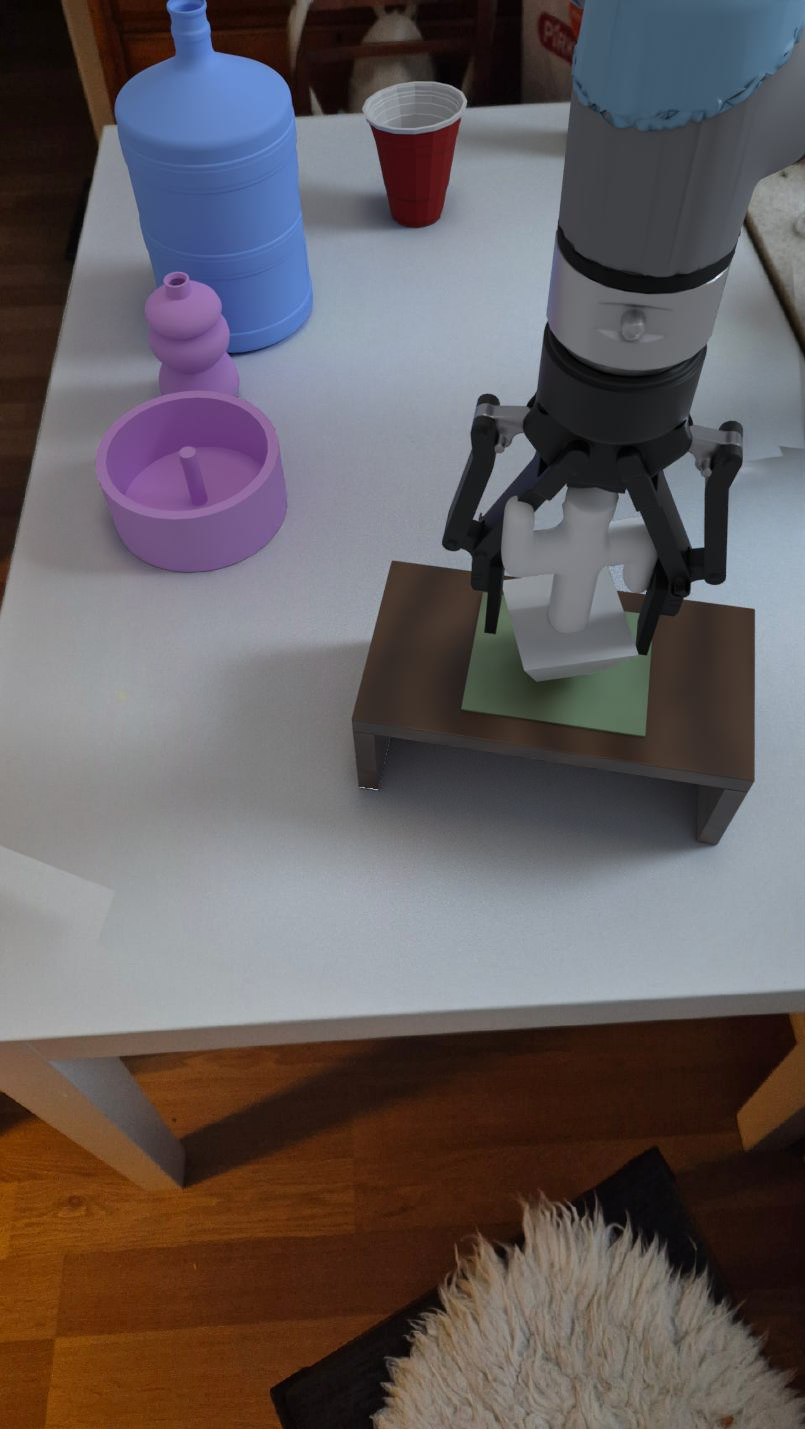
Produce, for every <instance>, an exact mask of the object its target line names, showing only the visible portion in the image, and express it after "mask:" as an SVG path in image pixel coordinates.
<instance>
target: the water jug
mask: <svg viewBox="0 0 805 1429" xmlns="http://www.w3.org/2000/svg"><path fill="white" fill-rule="evenodd" d="M207 7H208V6H207V1H206V0H168V1H167V2H166V10H167V12H168V14H169V15H170V21H171V25H170V32H171V36H172V38H173V42H174V47H175V55H174V56H172V57H169V58H168V59H165V60H163V61H160V62H158V63H156V64H154V65H151V66H149V67H147V68H145V69H143V70H141V71H140V72H138V73H137V74H135V75H134V76H133V77H131V78H130V79H129V80H128V81H127V82H126V83H125V84H124V85H123V86H122V88H121V89H120V91H119V92H118V94H117V97H116V99H115V103H114V117H115V121H116V127H117V128H116V130H117V136H118V142H119V145H120V149H121V153H122V157H123V159H124V162H125V164H126V167H127V171H128V175H129V179H130V183H131V187H132V191H133V195H134V196H133V197H134V199H135V204H136V207H137V212H138V220H139V227H140V231H141V234H142V238H143V242H144V245H145V248H146V250H147V252H148V255H149V261H150V266H151V270H152V273H153V278H154V281H155V285H156V289H158V288H159V287H161V286H162V285H164V281H163V280H164V278H165V276H166V275H168V274H170V273H172V272H183V273H186V274H187V275H188V276H189V280H192V281H196V282H200V283H203V284H205V285H207V286H209V287H211V288H212V289H213V290H214V291H215V293H216V294H217V296H218V297H219V299H220V300H221V304H222V310H221V314H222V316H223V317H224V318H225V320H226V322H227V325H228V328H229V331H230V338H229V345H228V348H227V350H226V353H227V354H229V353H231V354H233V353H235V354H236V353H245V352H253V351H257V350H261V349H264V348H267V347H270V346H273V345H275V344H278V343H279V342H281V341H283V340H285V339H286V338H288V337H289V336H291V335H292V334H293V333H295V332H296V331H297V330H298V329H299V328H301V326H302V325H303V323H304V322H306V320H307V318H308V317H309V314H310V312H311V310H312V306H313V302H314V301H313V300H314V292H313V283H312V282H313V280H312V276H311V273H310V267H309V266H310V265H309V256H308V247H307V239H306V235H305V230H304V221H303V212H302V206H301V197H300V196H301V195H300V186H299V184H300V183H299V160H298V158H299V157H298V149H297V148H298V147H297V143H298V131H297V125H296V124H297V123H296V122H297V121H296V115H295V110H294V106H293V101H292V100H293V99H292V94H291V89H290V88H289V85H288V83H287V82H286V81H285V79H284V77H283V76H282V75H281V74H279V72H277V71H276V70H275V69H273V68H272V67H270V66H269V65H267V64H265V63H264V62H263V63H262V62H260V61H258V60H255V59H252V58H249V57H244V56H239V55H234V54H229V53H223V52H219V51H215V50H214V48H213V45H212V38H211V32H212V31H211V24H210V22H209V21H208V18H207V13H206V10H207Z"/></svg>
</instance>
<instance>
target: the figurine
mask: <svg viewBox="0 0 805 1429" xmlns="http://www.w3.org/2000/svg"><path fill="white" fill-rule="evenodd" d="M619 499H620V493H613V492H609V491H606V490H602V489H599V488H573V487H566V493H565V498H564V501H563V502H562V503H561V508H562V516H563V517H562V520H561V521H560V522H559V523H558V524H557V525H555V526H553V527H550V528H546V529H545V528H543V529H537V530H534V528H535V520H536V519H535V518H536V516H535V515H536V514H535V513H534V509H533V507H532V506H531V505H530V504H528V503H525V502H519V501H517V500H518V498H517V496H513V497H511V498H510V499H509V500H508V501H507V503H506V506H505V511H504V521H503V532H502V543H501V556H502V562H503V565H504V568H505V572H506V573H507V574H508V576H513V577H518V579H510V580H504V582H503V592H504V596H505V600H506V604H507V608H508V611H509V615H510V619H511V623H512V626H513V630H514V634H515V638H516V642H517V645H518V649H519V653H520V657H521V661H522V664H523V668H524V671H525V672H526V673H527V674H529V675H530V676H531V677H532V678H533V679H534V680H535V681H536V682H537V681H545V680H552V679H559V678H566V677H574V676H581V675H588V674H595V673H602V672H604V671H606V670H608V669H610V668H612V667H614V666H616V665H618V664H621V663H623V662H625V661H627V660H629V659H631V658H633V657H635V656H637V655H639V654H638V652H637V649H636V646H635V643H634V640H633V637H632V634H631V631H630V628H629V625H628V622H627V619H626V616H625V613H624V611H623V608H622V605H621V602H620V599H619V596H618V593H617V588H616V584H615V582H614V579H613V576H612V573H611V570H610V567H614V566H622V580H623V583H624V586H626V588H627V589H628V590H629V592H633V593H640V594H643V593H644V592H646V591H647V589H648V587H649V585H650V583H651V579H652V576H653V572H654V569H655V566H656V562H657V559H658V554H657V552H656V549H655V547H654V544H653V542H652V540H651V537H650V535H649V532H648V530H647V528H646V525H645V523H644V521H643V518H642V516H638V517H637V516H636V517H630V518H629V517H628V518H622V519H621V518H620V519H614V517H615V513H616V510H617V505H618V503H619ZM613 519H614V520H613Z"/></svg>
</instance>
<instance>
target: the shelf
mask: <svg viewBox="0 0 805 1429" xmlns="http://www.w3.org/2000/svg"><path fill="white" fill-rule="evenodd" d="M510 579H518V577H513V576H511V575H507V574H506V575H505V574H504V580H510ZM470 583H471V570H468V569H461V568H460V569H459V568H453V567H445V566H438V565H430V564H423V563H416V562H409V561H408V562H407V561H400V560H394V559H393V560H391V562H390V565H389V570H388V573H387V578H386V581H385V585H384V590H383V593H382V597H381V601H380V605H379V609H378V613H377V617H376V620H375V625H374V629H373V632H372V636H371V640H370V645H369V648H368V653H367V656H366V661H365V664H364V668H363V672H362V676H361V679H360V683H359V687H358V692H357V696H356V698H355V699H356V700H355V704H354V707H353V712H352V716H351V729H352V737H353V750H354V755H355V765H356V775H357V786H358V788H359V787H365V788H373V789H379V790H380V786H379V784H380V785H381V782H380V780H381V781H382V778H381V776H383V773H382V771H383V772H384V769H383V767H384V768H385V764H384V762H385V763H386V760H385V758H386V759H387V756H386V753H387V754H388V751H387V749H388V750H389V747H388V745H389V746H390V742H391V738H395V739H402V740H408V741H414V742H415V741H416V742H421V743H428V744H435V745H441V746H448V747H453V748H461V749H465V750H466V749H467V750H474V751H480V752H487V753H492V754H493V753H494V754H499V755H505V756H513V757H519V758H525V759H530V760H531V759H532V760H538V761H546V762H551V763H557V764H565V765H570V766H577V767H585V768H589V769H590V768H591V769H595V770H596V769H597V770H604V771H610V772H616V773H623V774H629V775H635V776H643V777H649V778H656V779H662V780H669V781H675V782H680V783H689V784H695V785H698V786H697V788H698V789H697V808H696V809H697V812H696V838H695V839H696V840H695V841H696V842H697V843H702V844H707V845H708V844H709V845H715V846H718V845H719V843H720V841H721V840H722V838H723V836H724V834H725V833H726V831H727V829H728V827H729V826H730V824H731V823H732V821H733V819H734V818H735V816H736V814H737V812H738V810H739V809H740V808H741V805H742V804H743V802H744V800H745V799H746V797H747V795H748V793H749V791H750V790H751V788H752V787H753V785H754V783H755V781H756V609H755V608H751V607H744V606H736V605H729V604H722V603H713V602H706V601H699V600H691V599H685V598H684V599H683V601H682V605H681V608H680V610H679V612H678V613H677V614H676V615H675V616H674V617H673V616H666V615H660V617H659V620H658V623H657V626H656V629H655V632H654V635H653V638H652V641H651V644H650V648H649V651H648V654H647V656H646V655H637V656H635V657H633V658H631V659H629V660H627V661H625V662H623V663H621V664H618V665H616V666H614V667H612V668H610V669H608V670H606V671H604V672H602V673H595V674H588V675H581V676H574V677H566V678H559V679H552V680H545V681H537V682H536V681H535V680H534V679H533V678H532V677H531V676H530V675H529V674H527V673H526V672H525V671H524V668H523V664H522V661H521V657H520V653H519V649H518V645H517V642H516V638H515V634H514V630H513V626H512V623H511V619H510V615H509V611H508V608H507V604H506V600H505V596H504V592H503V591H502V600H501V607H500V613H499V618H498V624H497V630H496V634H489V633H484V629H485V618H486V607H487V596H488V592H485V591H478V590H473V588H472V586H471V584H470ZM616 590H617V589H616ZM617 593H618V596H619V599H620V602H621V605H622V608H623V611H624V613H625V616H626V619H627V622H628V625H629V628H630V631H631V634H632V637H633V640H634V643H635V646H636V635H637V622H638V618H639V614H640V611H641V608H642V604H643V601H644V597H645V594H646V593H634V592H632V591H625V590H617ZM390 737H391V738H390ZM389 741H390V742H389Z"/></svg>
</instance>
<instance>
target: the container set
mask: <svg viewBox="0 0 805 1429" xmlns="http://www.w3.org/2000/svg"><path fill="white" fill-rule="evenodd" d="M163 281H164V285H162V286H161V287H159V288H158V289H157V288H156V289H155V290H153V291H152V293H151V294H149V296H148V297H147V299H146V301H145V305H144V313H143V316H144V319H145V321H146V323H147V324H148V326H149V327H148V331H147V340H148V346H149V348H150V350H151V352H152V353H153V355H154V357H155V358H156V359H157V360H158V361H159V362H160V363H161V365H160V368H159V373H158V387H159V390H160V394H161V395H160V396H158V397H155V398H151V399H149V400H146V401H144V402H142V403H141V404H138V405H136V406H134V407H132V408H131V409H130V410H128V411H127V412H125V413H124V414H122V415H121V416H120V417H119V418H118V419H116V420H115V422H113V424H111V426H109V427H108V429H107V430H106V432H105V434H103V436H102V438H100V442H99V445H98V447H97V448H96V452H95V459H94V460H95V461H94V462H95V463H94V467H95V472H96V473H95V474H96V478H97V481H98V483H99V486H100V488H101V491H102V492H101V493H102V495H103V497H104V499H105V502H106V505H107V508H108V510H109V513H110V516H111V518H112V521H113V524H114V527H115V530H116V532H117V533H118V537H119V538H120V541H121V542H122V544H123V545H124V546H125V547H126V548H127V549H128V551H129V552H130V553H132V554H133V555H135V556H136V557H137V558H139V559H140V560H141V561H143V562H145V563H147V564H149V565H152V566H154V567H156V568H158V569H159V568H160V569H162V570H163V569H165V570H167V571H171V572H182V573H199V572H200V573H201V572H211V571H214V570H218V569H224V568H226V567H229V566H232V565H235V564H237V563H240V562H242V561H245V559H248V558H249V557H251V556H252V555H255V554H256V553H258V552H259V551H260V550H261V549H263V547H265V546H266V545H267V544H268V543H269V542H270V541H271V540H272V538H273V537H274V536H275V535H276V534H277V533H278V532H279V529H280V528H281V526H282V524H283V522H284V520H285V518H286V517H285V516H286V512H287V509H288V494H287V487H286V481H285V480H286V479H285V474H284V467H283V460H282V455H281V448H280V442H279V437H278V433H277V431H276V427H275V426H274V424H273V423H272V422H271V420H270V419H269V417H268V416H267V415H266V414H265V413H264V412H263V411H262V410H261V409H260V408H259V407H257V406H256V405H254V404H253V403H250V402H249V401H247V400H246V399H243V398H240V397H238V393H239V390H240V374H239V371H238V367H237V366H236V363H235V361H234V360H233V358H232V357H231V356H230V354H229V353H226V350H227V348H228V345H229V338H230V331H229V328H228V325H227V322H226V320H225V318H224V317H223V316H222V314H221V310H222V304H221V300H220V299H219V297H218V296H217V294H216V293H215V291H214V290H213V289H212V288H211V287H209V286H207V285H205V284H203V283H200V282H196V281H192V280H189V276H188V275H187V274H186V273H183V272H172V273H170V274H168V275H166V276H165V278H164V280H163Z"/></svg>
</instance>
